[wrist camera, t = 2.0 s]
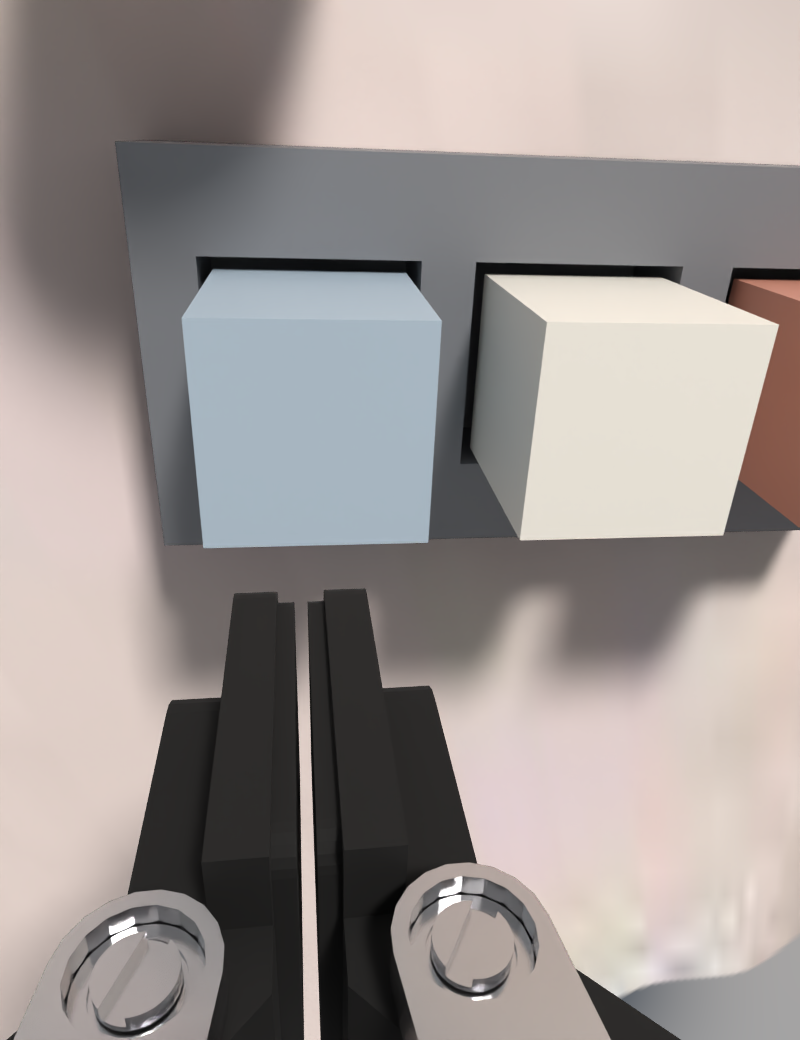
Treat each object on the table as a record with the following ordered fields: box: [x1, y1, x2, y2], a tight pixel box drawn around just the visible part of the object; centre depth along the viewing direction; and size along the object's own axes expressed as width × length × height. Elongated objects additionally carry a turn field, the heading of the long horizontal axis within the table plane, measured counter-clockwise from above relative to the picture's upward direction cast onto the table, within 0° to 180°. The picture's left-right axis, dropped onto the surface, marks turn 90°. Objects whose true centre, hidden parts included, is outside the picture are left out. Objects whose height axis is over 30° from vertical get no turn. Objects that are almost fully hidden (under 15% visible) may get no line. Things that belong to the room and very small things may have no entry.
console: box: [115, 140, 800, 545], centre depth 26 cm, size 26×12×4 cm, turn 89°
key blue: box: [182, 269, 442, 548], centre depth 20 cm, size 6×6×6 cm
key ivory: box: [470, 274, 779, 540], centre depth 21 cm, size 6×6×6 cm
